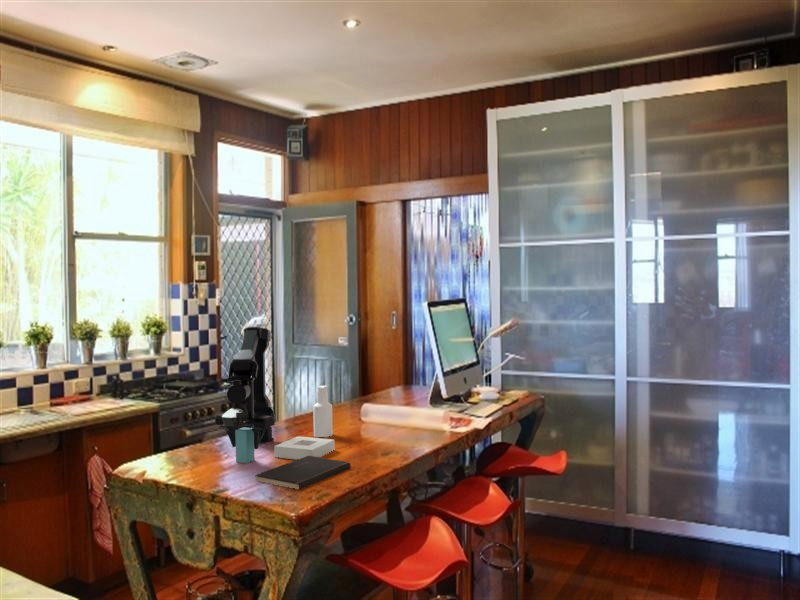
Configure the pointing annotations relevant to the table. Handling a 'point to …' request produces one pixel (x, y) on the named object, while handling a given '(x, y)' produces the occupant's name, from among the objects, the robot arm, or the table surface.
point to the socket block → (304, 447)
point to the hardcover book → (303, 472)
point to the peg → (244, 445)
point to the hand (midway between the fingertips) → (245, 448)
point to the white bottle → (322, 414)
